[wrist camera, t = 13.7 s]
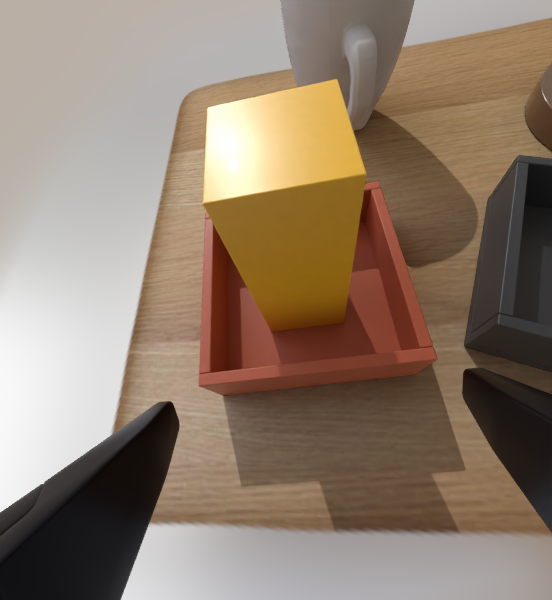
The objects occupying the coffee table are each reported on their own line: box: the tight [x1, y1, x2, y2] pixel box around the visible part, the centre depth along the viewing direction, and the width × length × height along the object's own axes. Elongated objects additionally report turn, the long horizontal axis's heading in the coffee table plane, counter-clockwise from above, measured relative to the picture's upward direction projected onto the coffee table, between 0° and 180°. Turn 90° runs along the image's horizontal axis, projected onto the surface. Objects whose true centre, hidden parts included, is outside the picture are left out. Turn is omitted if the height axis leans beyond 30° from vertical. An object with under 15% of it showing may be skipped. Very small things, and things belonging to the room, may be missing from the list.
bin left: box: [199, 181, 437, 395], centre depth 17 cm, size 11×11×4 cm
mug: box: [281, 0, 414, 131], centre depth 21 cm, size 12×9×10 cm
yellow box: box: [203, 79, 367, 332], centre depth 14 cm, size 4×4×11 cm
